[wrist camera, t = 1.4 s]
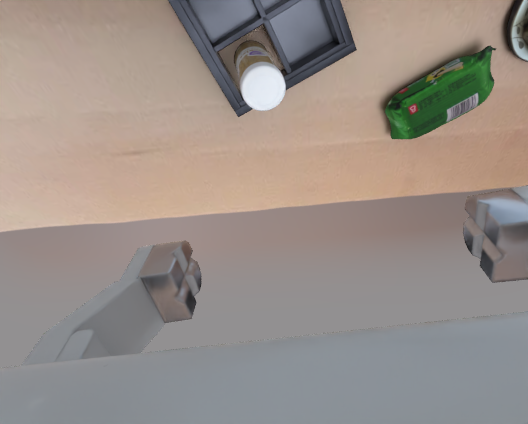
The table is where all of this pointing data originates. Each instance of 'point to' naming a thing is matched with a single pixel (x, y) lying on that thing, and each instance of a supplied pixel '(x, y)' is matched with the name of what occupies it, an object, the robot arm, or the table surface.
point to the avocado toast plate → (519, 29)
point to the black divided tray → (278, 29)
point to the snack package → (441, 96)
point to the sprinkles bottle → (258, 77)
